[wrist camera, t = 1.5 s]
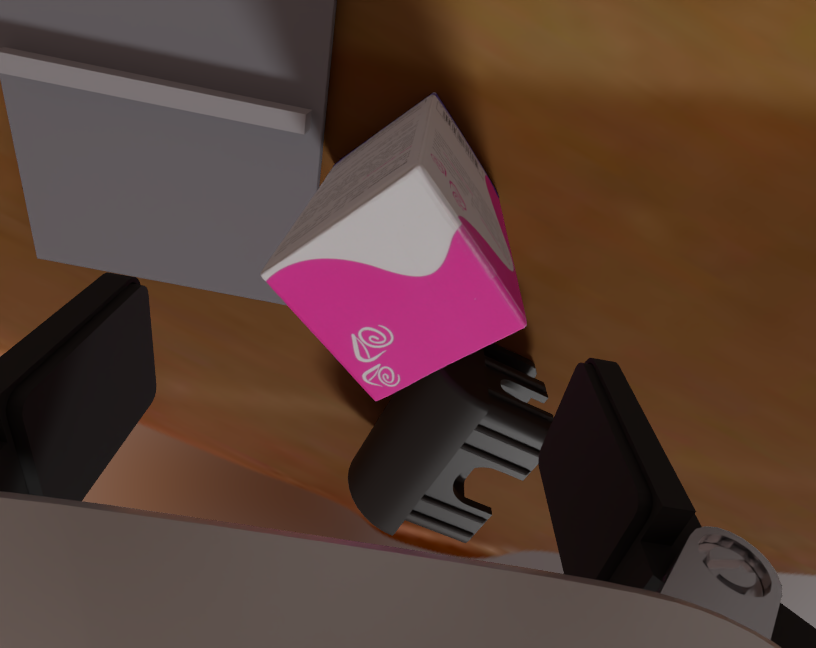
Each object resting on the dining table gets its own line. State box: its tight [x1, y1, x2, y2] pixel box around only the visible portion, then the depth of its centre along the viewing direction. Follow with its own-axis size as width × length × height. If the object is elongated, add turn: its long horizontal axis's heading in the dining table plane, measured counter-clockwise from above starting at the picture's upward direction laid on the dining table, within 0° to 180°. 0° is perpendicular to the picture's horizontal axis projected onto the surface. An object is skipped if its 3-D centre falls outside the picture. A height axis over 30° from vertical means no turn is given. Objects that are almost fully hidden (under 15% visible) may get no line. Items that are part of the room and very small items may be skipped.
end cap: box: [348, 343, 554, 543], centre depth 28 cm, size 10×7×7 cm
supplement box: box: [261, 92, 527, 401], centre depth 19 cm, size 6×6×12 cm
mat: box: [0, 0, 337, 305], centre depth 22 cm, size 14×19×2 cm
